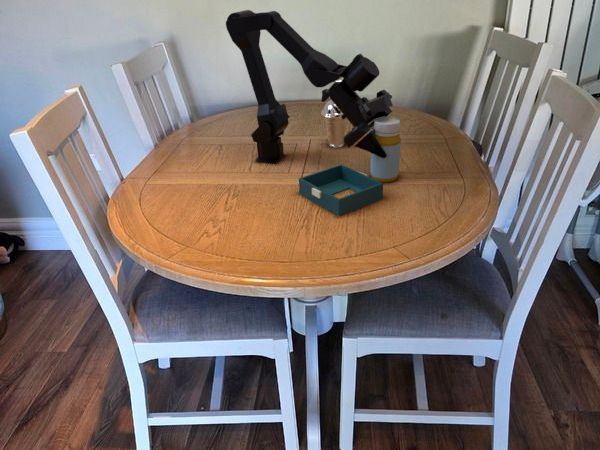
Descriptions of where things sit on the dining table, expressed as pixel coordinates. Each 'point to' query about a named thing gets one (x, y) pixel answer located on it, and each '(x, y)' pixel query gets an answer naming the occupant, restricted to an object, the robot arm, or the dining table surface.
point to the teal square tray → (340, 189)
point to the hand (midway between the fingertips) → (390, 152)
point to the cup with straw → (334, 124)
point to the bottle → (386, 149)
